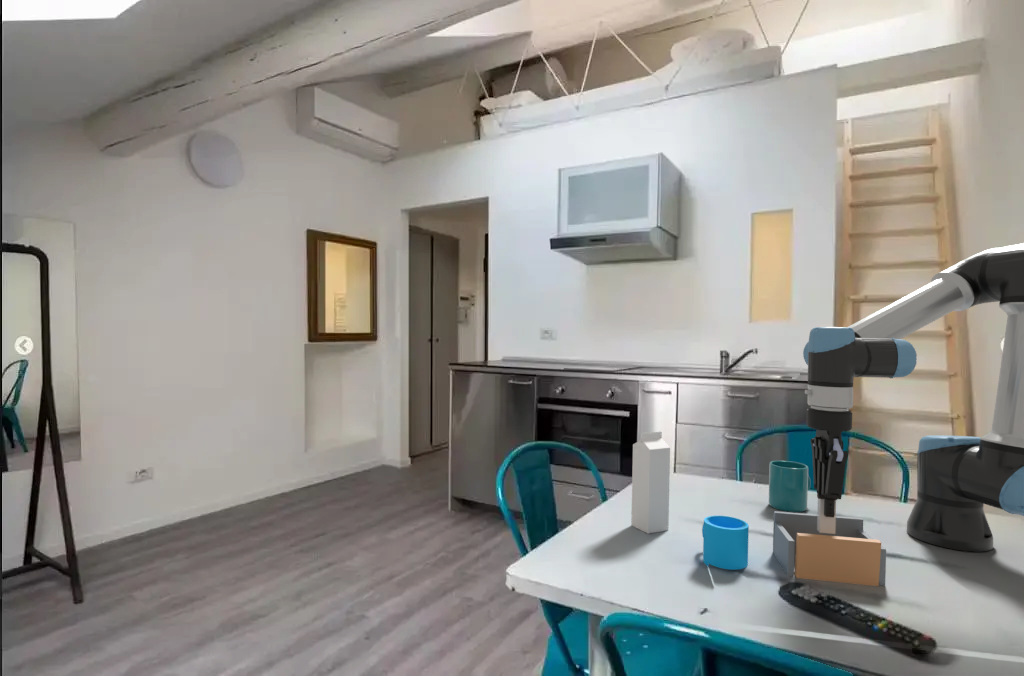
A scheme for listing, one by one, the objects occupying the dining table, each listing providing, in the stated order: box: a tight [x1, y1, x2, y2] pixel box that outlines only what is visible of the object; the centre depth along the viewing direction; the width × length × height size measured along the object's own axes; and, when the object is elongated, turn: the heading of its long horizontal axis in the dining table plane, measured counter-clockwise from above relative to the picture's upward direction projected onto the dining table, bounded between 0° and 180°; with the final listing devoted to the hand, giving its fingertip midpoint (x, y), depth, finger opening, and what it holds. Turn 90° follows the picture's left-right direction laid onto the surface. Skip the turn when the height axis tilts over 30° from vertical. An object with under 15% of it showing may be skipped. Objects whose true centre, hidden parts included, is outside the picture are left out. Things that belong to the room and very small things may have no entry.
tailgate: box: [794, 533, 882, 587], centre depth 100 cm, size 13×1×8 cm, turn 78°
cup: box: [768, 460, 812, 513], centre depth 145 cm, size 9×12×11 cm
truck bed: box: [772, 510, 887, 586], centre depth 106 cm, size 16×11×9 cm
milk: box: [630, 431, 671, 534], centre depth 127 cm, size 6×6×22 cm
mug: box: [701, 515, 750, 571], centre depth 110 cm, size 12×8×8 cm
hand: (826, 531), depth 106 cm, fingers closed
